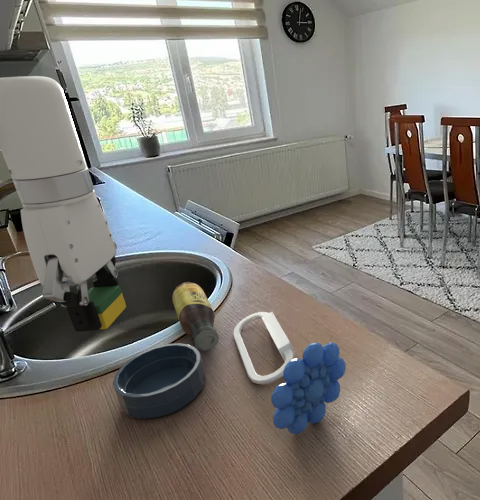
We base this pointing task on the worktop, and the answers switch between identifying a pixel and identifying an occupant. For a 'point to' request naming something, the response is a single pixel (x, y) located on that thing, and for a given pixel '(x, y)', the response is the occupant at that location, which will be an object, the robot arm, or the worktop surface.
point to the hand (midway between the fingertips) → (101, 315)
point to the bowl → (159, 380)
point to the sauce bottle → (195, 315)
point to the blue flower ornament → (308, 387)
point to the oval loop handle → (279, 339)
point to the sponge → (107, 303)
